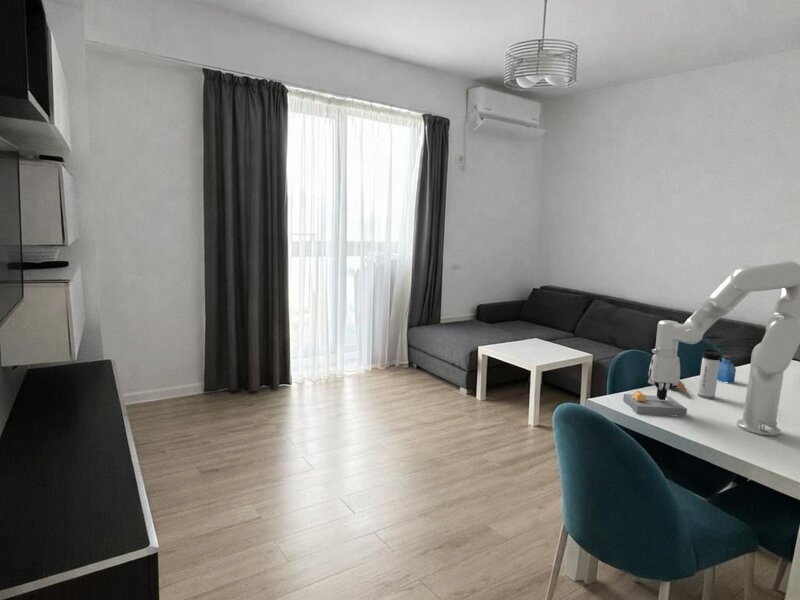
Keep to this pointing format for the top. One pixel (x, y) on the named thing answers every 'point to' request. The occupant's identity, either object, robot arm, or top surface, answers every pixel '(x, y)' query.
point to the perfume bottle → (726, 370)
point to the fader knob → (639, 396)
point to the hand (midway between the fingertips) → (661, 398)
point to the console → (655, 405)
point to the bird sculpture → (680, 386)
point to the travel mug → (709, 374)
